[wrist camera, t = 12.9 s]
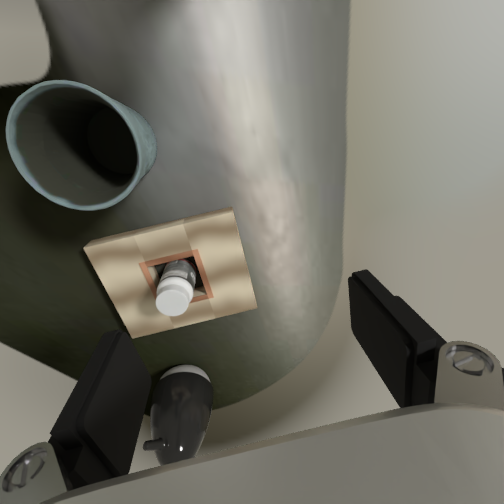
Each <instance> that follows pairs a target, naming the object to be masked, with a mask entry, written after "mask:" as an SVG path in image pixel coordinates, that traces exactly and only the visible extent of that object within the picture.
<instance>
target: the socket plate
mask: <svg viewBox="0 0 504 504" xmlns="http://www.w3.org/2000/svg"><path fill="white" fill-rule="evenodd" d="M83 249H84V250H85V252H86V254H87V256H88V258H89V260H90V261H91V263H92V265H93V267H94V269H95V271H96V272H97V274H98V276H99V278H100V280H101V282H102V283H103V285H104V287H105V289H106V291H107V293H108V294H109V296H110V298H111V300H112V302H113V304H114V306H115V307H116V309H117V311H118V313H119V315H120V317H121V318H122V320H123V322H124V324H125V326H126V328H127V329H128V331H129V333H130V335H131V337H132V338H137V337H141V336H145V335H149V334H153V333H157V332H161V331H165V330H169V329H174V328H178V327H182V326H186V325H190V324H194V323H198V322H202V321H206V320H210V319H215V318H219V317H223V316H227V315H231V314H235V313H239V312H243V311H247V310H252V309H256V308H257V304H256V299H255V295H254V291H253V287H252V283H251V279H250V275H249V271H248V267H247V264H246V260H245V256H244V252H243V248H242V244H241V240H240V236H239V232H238V228H237V224H236V220H235V216H234V212H233V208H232V207H228V208H224V209H220V210H216V211H212V212H207V213H203V214H199V215H195V216H191V217H187V218H183V219H178V220H174V221H170V222H166V223H162V224H158V225H154V226H149V227H145V228H141V229H137V230H133V231H129V232H124V233H120V234H116V235H112V236H108V237H104V238H100V239H95V240H91V241H90V242H89V243H88V244H87V245H86V246H85V247H84V248H83ZM191 256H194V258H195V261H196V264H197V267H198V270H199V273H200V275H201V278H202V281H203V284H204V286H201V287H197V288H194V294H193V298H192V300H191V301H190V303H189V305H188V308H187V310H186V311H185V312H184V313H183V314H181V315H178V316H167V315H164V314H162V313H161V312H160V311H159V310H158V309H157V307H156V298H157V287H158V284H159V282H160V278H159V276H158V273H157V271H156V269H155V266H154V265H158V264H162V263H166V262H170V261H174V260H178V259H182V258H187V257H191Z"/></svg>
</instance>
